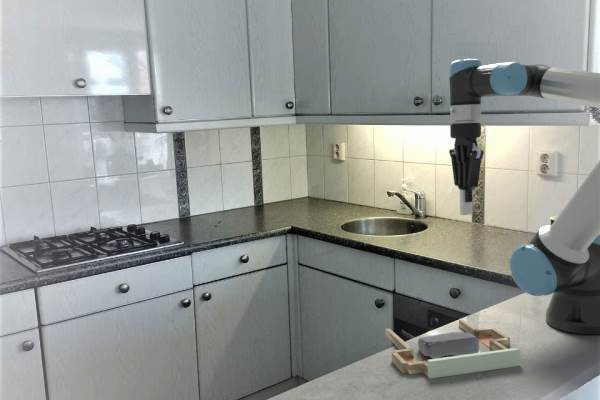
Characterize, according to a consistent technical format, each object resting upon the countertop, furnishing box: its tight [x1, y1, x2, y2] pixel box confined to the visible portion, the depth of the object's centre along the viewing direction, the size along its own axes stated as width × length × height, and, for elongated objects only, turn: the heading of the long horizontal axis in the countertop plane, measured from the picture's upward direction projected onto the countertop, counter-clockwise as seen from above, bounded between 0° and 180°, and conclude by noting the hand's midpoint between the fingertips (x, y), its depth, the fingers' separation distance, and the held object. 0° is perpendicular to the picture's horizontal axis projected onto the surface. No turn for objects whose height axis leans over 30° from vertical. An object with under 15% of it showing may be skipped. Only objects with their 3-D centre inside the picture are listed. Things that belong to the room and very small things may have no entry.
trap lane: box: [385, 319, 521, 379], centre depth 129 cm, size 28×24×4 cm
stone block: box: [417, 331, 480, 359], centre depth 127 cm, size 12×5×10 cm
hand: (466, 214), depth 150 cm, fingers closed
